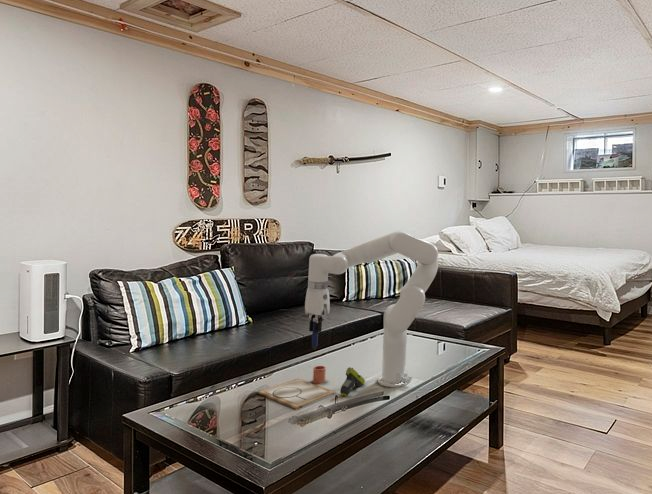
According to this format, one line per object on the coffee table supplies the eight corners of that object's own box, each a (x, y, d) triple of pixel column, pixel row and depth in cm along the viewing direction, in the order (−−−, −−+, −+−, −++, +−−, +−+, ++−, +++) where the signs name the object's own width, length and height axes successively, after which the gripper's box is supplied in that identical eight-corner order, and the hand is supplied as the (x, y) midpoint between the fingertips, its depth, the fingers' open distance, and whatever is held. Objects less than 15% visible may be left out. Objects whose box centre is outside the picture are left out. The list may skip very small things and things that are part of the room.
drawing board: (335, 394, 186) (335, 391, 186) (296, 409, 171) (296, 406, 171) (297, 380, 199) (298, 378, 199) (258, 393, 184) (258, 390, 184)
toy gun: (357, 404, 191) (366, 379, 197) (343, 393, 180) (352, 366, 186) (352, 403, 192) (360, 378, 198) (337, 392, 181) (347, 365, 187)
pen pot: (327, 382, 198) (328, 367, 198) (318, 385, 194) (318, 370, 194) (319, 379, 201) (320, 365, 201) (310, 382, 197) (310, 367, 197)
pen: (318, 348, 196) (320, 318, 195) (313, 349, 194) (315, 319, 194) (314, 347, 197) (316, 317, 197) (310, 348, 195) (311, 318, 195)
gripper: (338, 287, 193) (336, 333, 194) (312, 281, 203) (309, 326, 203) (323, 289, 187) (321, 337, 188) (297, 283, 197) (294, 329, 197)
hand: (315, 331), depth 195 cm, fingers closed on pen, 2 cm apart
